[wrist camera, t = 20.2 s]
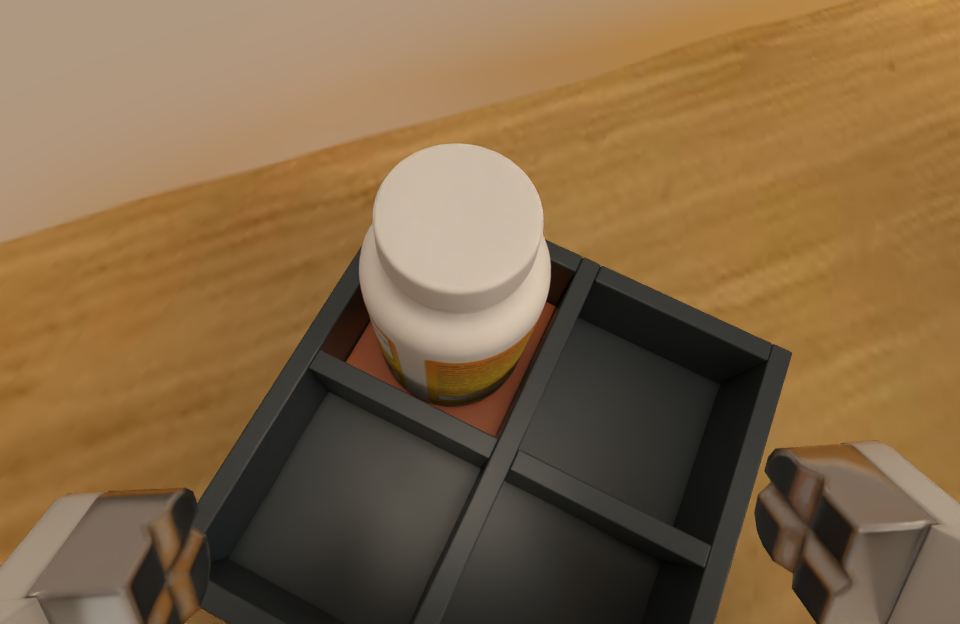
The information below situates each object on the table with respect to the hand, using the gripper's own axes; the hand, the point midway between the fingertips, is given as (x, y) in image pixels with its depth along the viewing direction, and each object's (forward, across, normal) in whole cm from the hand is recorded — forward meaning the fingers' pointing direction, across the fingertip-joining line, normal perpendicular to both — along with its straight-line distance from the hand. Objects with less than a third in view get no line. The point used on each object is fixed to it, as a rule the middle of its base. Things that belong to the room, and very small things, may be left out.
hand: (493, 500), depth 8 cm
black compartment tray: (+10, -1, +8) cm, 13 cm away
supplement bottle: (+14, 0, +4) cm, 14 cm away
